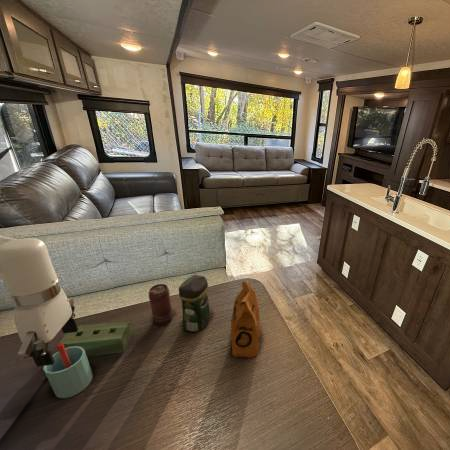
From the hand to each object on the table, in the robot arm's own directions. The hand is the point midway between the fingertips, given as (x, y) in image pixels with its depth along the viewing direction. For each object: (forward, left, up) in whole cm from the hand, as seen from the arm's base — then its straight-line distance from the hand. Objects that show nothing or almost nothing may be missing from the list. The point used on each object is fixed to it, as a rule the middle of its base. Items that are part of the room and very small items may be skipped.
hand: (59, 347), depth 62 cm
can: (+17, +21, -14) cm, 30 cm away
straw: (0, 0, -13) cm, 13 cm away
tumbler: (0, 0, -14) cm, 14 cm away
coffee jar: (+29, +18, -14) cm, 37 cm away
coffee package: (+46, +6, -14) cm, 49 cm away
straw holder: (+1, +12, -14) cm, 18 cm away
